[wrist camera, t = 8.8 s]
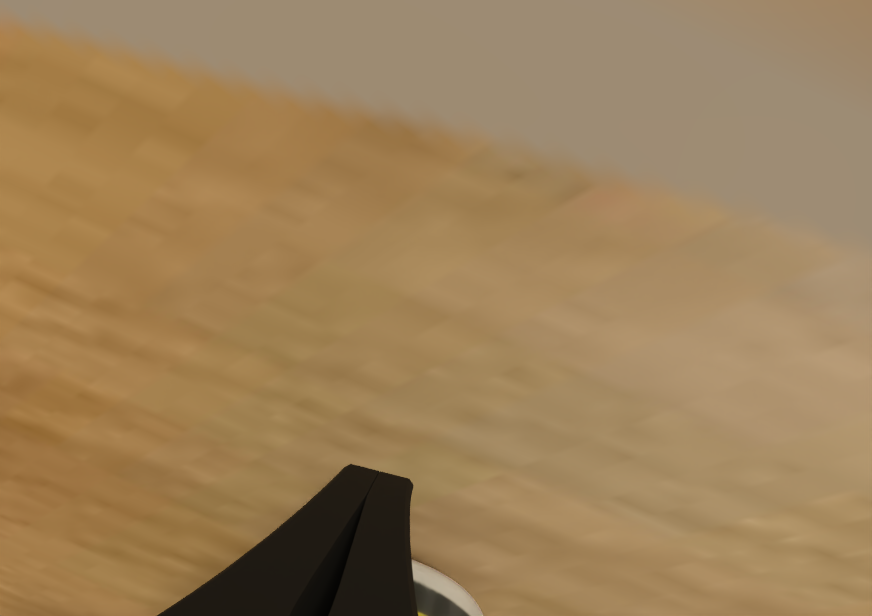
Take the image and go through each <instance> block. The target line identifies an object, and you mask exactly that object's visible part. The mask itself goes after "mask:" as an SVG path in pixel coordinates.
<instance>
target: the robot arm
mask: <svg viewBox="0 0 872 616" xmlns="http://www.w3.org/2000/svg"><path fill="white" fill-rule="evenodd" d="M412 490H413V484H412V482H411V481H410V479H408V478H404V477H400V476H396V475H392V474H388V473H384V472H379V471H376V470H372V469H368V468H364V467H360V466H356V465H352V464H350V465H348V466H346V467H344V468H343V469H342V470H341V471H340V473H339V474H338V475H337V476H336V477H334V478H333V479H332V480H331V481H330V482H329V483H328V484H327V485H326V486H325V487H324V488H323V489H322V490H321V491H320V492H319V493H318V494H317V495H315V496H314V497H313V498H312V499H311V500H310V501H309V502H308V503H307V504H306V505H304V506H303V507H302V508H301V509H300V510H299V511H297V512H296V513H295V514H294V515H293V516H292V517H290V518H289V519H288V520H287V521H286V522H285V523H283V524H282V525H281V526H280V527H279V528H277V529H276V530H275V531H274V532H273V533H271V534H270V535H269V536H268V537H267V538H265V539H264V540H263V541H261V542H260V543H259V544H257V545H256V546H255V547H254V548H252V549H251V550H250V551H248V552H247V553H246V554H244V555H243V556H242V557H240V558H239V559H238V560H237V561H235V562H234V563H233V564H231V565H230V566H229V567H227V568H226V569H225V570H223V571H222V572H221V573H219V574H218V575H216V576H215V577H214V578H212V579H211V580H209V581H208V582H207V583H205V584H204V585H202V586H201V587H199V588H198V589H196V590H195V591H194V592H192V593H191V594H189V595H188V596H186V597H185V598H183V599H182V600H180V601H179V602H177V603H175V604H174V605H172V606H171V607H169V608H168V609H166V610H165V611H163V612H162V613H160V614H159V615H157V616H418V610H417V604H416V597H415V589H414V581H413V570H412V559H411V548H410V501H411V495H412Z"/></svg>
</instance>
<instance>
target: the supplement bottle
mask: <svg viewBox="0 0 872 616" xmlns="http://www.w3.org/2000/svg"><path fill="white" fill-rule="evenodd" d="M412 570H413V581H414V589H415V597H416V604H417V610H418V616H483V613H482V611H481V609H480V607H479V606H478V604H477V603H476V601H475V600H474V599H473V597H472V596H471V595H470V594H469V593H468V592H467V591H466V590H465V589H464V588H463V587H462V586H461V585H459V584H458V583H457V582H455V581H454V580H452V579H451V578H449V577H448V576H446V575H445V574H443V573H441V572H439V571H437V570H435V569H433V568H431V567H429V566H427V565H424V564H422V563H420V562H417V561H415V560H412Z"/></svg>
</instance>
